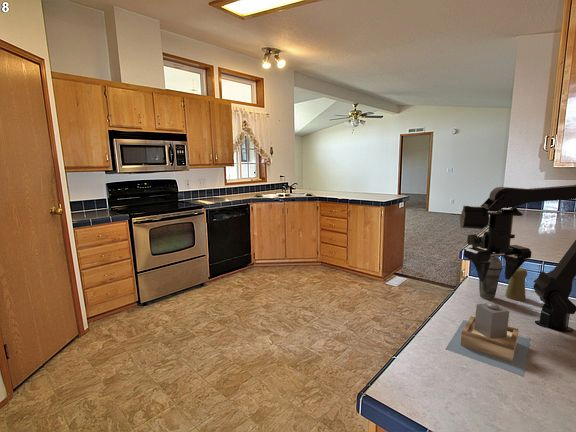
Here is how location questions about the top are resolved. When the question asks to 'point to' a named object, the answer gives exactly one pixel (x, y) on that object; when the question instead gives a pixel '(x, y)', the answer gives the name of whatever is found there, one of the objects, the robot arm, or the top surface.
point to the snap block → (491, 320)
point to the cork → (517, 285)
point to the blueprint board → (514, 366)
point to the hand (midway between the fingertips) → (494, 280)
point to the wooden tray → (490, 341)
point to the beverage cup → (491, 279)
